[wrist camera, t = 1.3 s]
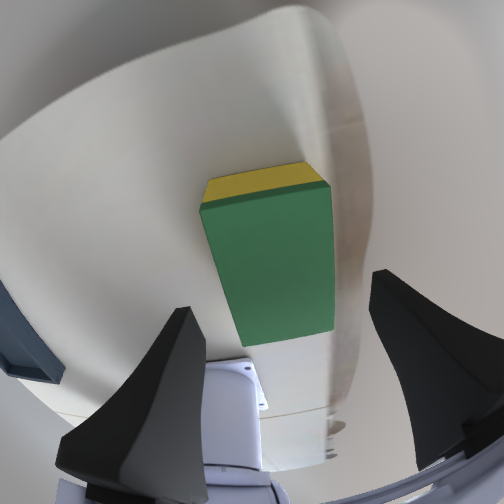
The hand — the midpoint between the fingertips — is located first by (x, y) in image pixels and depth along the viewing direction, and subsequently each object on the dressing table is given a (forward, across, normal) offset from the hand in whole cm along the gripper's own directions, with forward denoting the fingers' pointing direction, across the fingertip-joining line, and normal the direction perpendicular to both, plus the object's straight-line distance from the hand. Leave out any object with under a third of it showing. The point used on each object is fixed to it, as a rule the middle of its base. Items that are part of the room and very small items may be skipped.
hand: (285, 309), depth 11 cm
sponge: (+6, 0, 0) cm, 6 cm away
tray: (+6, +29, +2) cm, 29 cm away
